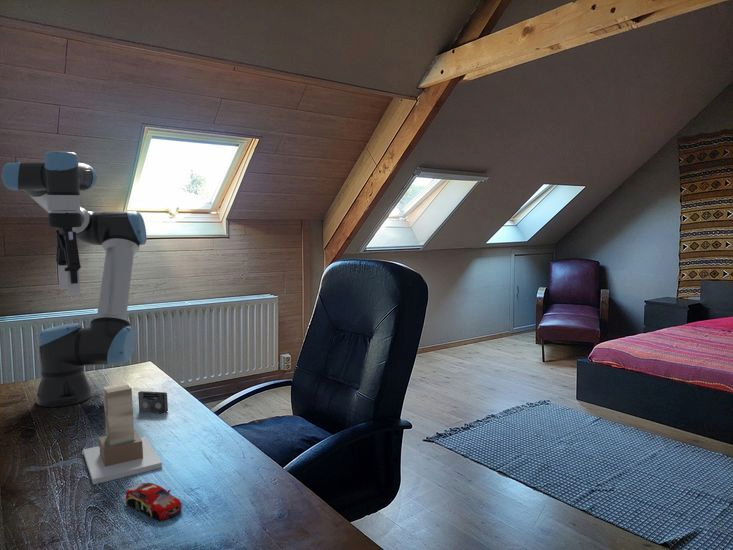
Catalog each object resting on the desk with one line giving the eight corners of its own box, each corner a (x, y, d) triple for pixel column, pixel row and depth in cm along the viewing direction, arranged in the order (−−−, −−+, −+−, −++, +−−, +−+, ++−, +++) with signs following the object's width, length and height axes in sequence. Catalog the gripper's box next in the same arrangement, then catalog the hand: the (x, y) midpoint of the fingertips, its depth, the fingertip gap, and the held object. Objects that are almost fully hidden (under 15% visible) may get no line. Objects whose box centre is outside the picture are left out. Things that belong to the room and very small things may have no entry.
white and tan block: (83, 454, 131) (81, 432, 130) (145, 440, 138) (144, 420, 138) (93, 484, 116) (91, 460, 115) (162, 467, 123) (160, 444, 123)
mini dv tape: (168, 412, 159) (167, 391, 158) (165, 413, 157) (164, 393, 157) (142, 410, 160) (141, 390, 160) (139, 412, 159) (138, 392, 158)
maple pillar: (106, 437, 127) (103, 387, 126) (129, 432, 130) (126, 383, 128) (110, 444, 123) (107, 392, 122) (134, 439, 126) (131, 388, 124)
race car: (187, 513, 105) (186, 493, 104) (161, 526, 100) (160, 505, 100) (147, 493, 112) (146, 474, 112) (122, 504, 108) (121, 485, 108)
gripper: (90, 213, 135) (95, 297, 138) (72, 211, 155) (76, 285, 158) (55, 213, 131) (61, 300, 134) (41, 211, 151) (46, 287, 153)
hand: (69, 292), depth 146 cm, fingers open, 13 cm apart
